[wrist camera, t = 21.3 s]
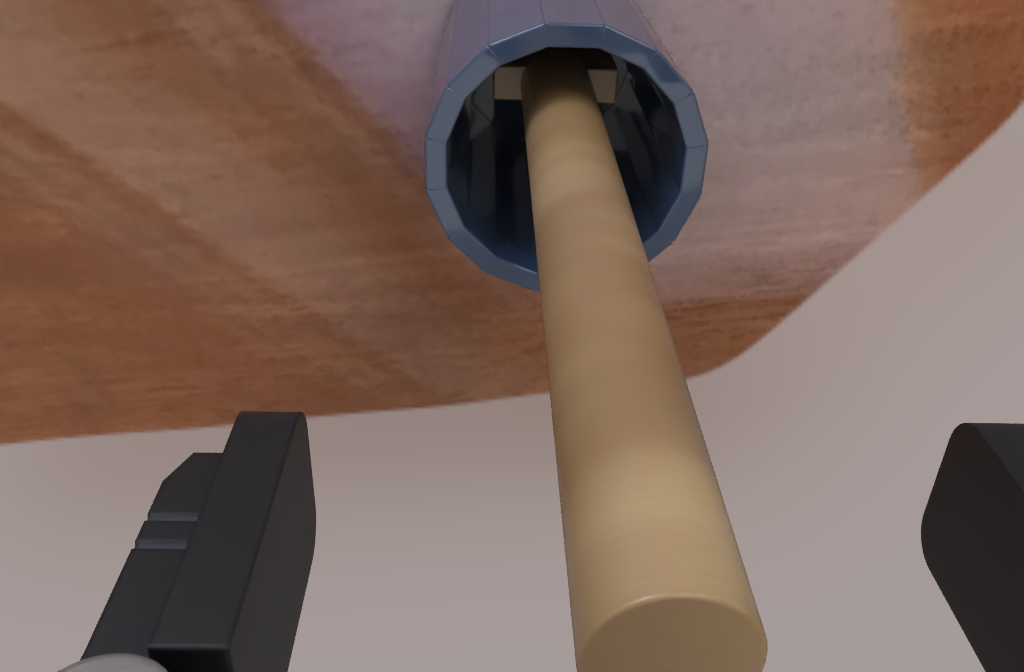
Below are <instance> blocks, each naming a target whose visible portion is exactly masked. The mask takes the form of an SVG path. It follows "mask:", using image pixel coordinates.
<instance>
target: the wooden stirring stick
mask: <svg viewBox="0 0 1024 672" xmlns="http://www.w3.org/2000/svg"><path fill="white" fill-rule="evenodd" d="M617 81H618V68H617V66H616V64H615V61H614V59H613V56H612V55H611V54H609V53H607V52H605V51H602V50H600V49H597V48H560V47H547V48H545V49H542V50H540V51H537V52H535V53H532V54H529V55H527V56H524V57H522V58H519V59H516V60H514V61H511V62H509V63H506V64H503V65H501V66H500V67H499V68H498V69H497V70H496V71H495V72H494V73H493V99H495V100H522V108H523V119H524V129H525V139H526V150H527V160H528V171H529V181H530V191H531V202H532V212H533V222H534V233H535V243H536V254H537V264H538V274H539V285H540V295H541V305H542V316H543V326H544V337H545V347H546V357H547V368H548V378H549V388H550V399H551V408H552V418H553V419H552V420H553V430H554V439H555V451H556V461H557V470H558V482H559V491H560V503H561V513H562V523H563V533H564V544H565V554H566V564H567V575H568V584H569V585H568V586H569V596H570V606H571V617H572V627H573V637H574V648H575V658H576V667H577V672H762V670H763V667H764V665H765V662H766V656H767V639H766V634H765V631H764V628H763V625H762V621H761V618H760V615H759V612H758V609H757V606H756V603H755V599H754V596H753V593H752V590H751V587H750V584H749V580H748V577H747V574H746V571H745V567H744V564H743V561H742V558H741V555H740V552H739V548H738V546H737V542H736V539H735V536H734V533H733V530H732V526H731V523H730V520H729V517H728V514H727V510H726V507H725V504H724V501H723V498H722V495H721V491H720V488H719V485H718V482H717V479H716V475H715V472H714V469H713V466H712V463H711V460H710V456H709V454H708V450H707V447H706V444H705V441H704V438H703V434H702V431H701V428H700V425H699V422H698V418H697V415H696V412H695V409H694V406H693V402H692V399H691V396H690V393H689V390H688V387H687V383H686V380H685V377H684V374H683V371H682V367H681V364H680V361H679V358H678V355H677V352H676V348H675V345H674V342H673V339H672V336H671V333H670V329H669V326H668V323H667V320H666V317H665V314H664V310H663V307H662V304H661V301H660V298H659V294H658V291H657V288H656V285H655V282H654V279H653V275H652V272H651V269H650V266H649V263H648V260H647V256H646V253H645V250H644V247H643V244H642V240H641V237H640V234H639V231H638V228H637V225H636V221H635V218H634V215H633V212H632V209H631V206H630V202H629V199H628V196H627V193H626V190H625V187H624V183H623V180H622V177H621V174H620V171H619V167H618V164H617V161H616V158H615V155H614V152H613V148H612V145H611V142H610V139H609V136H608V133H607V129H606V126H605V123H604V120H603V117H602V113H601V110H600V107H599V104H598V103H615V101H616V91H617Z"/></svg>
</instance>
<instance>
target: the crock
mask: <svg viewBox="0 0 1024 672" xmlns="http://www.w3.org/2000/svg"><path fill="white" fill-rule="evenodd" d="M547 47H560V48H597V49H600V50H602V51H605V52H607V53H609V54H611V55H612V56H613V59H614V61H615V64H616V66H617V68H618V81H617V91H616V101H615V103H598V104H599V107H600V110H601V113H602V117H603V120H604V123H605V126H606V129H607V133H608V136H609V139H610V142H611V145H612V148H613V152H614V155H615V158H616V161H617V164H618V167H619V171H620V174H621V177H622V180H623V183H624V187H625V190H626V193H627V196H628V199H629V202H630V206H631V209H632V212H633V215H634V218H635V221H636V225H637V228H638V231H639V234H640V237H641V240H642V244H643V247H644V250H645V253H646V256H647V260H648V262H649V261H651V260H652V259H653V258H654V257H656V256H657V255H658V254H660V253H661V252H662V251H663V250H665V249H666V248H667V247H668V246H670V245H671V244H672V243H673V241H675V239H676V238H677V236H678V234H679V233H680V231H681V229H682V227H683V226H684V224H685V222H686V221H687V219H688V217H689V216H690V214H691V212H692V211H693V209H694V207H695V206H696V204H697V202H698V201H699V199H700V196H701V193H702V186H703V179H704V173H705V166H706V159H707V152H708V139H707V136H706V132H705V129H704V125H703V121H702V118H701V114H700V111H699V107H698V103H697V100H696V96H695V93H694V92H693V90H692V88H691V87H690V85H689V83H688V82H687V80H686V79H685V77H684V76H683V74H682V73H681V71H680V69H679V68H678V66H677V65H676V63H675V62H674V60H673V58H672V57H671V55H670V54H669V52H668V51H667V49H666V48H665V46H664V44H663V43H662V41H661V40H660V38H659V37H658V35H657V34H656V32H655V30H654V29H653V27H652V26H651V24H650V23H649V21H648V20H647V18H646V16H645V15H644V13H643V12H642V10H641V9H640V7H639V5H638V4H637V2H636V1H635V0H455V2H454V4H453V6H452V8H451V11H450V14H449V17H448V20H447V23H446V26H445V28H444V30H443V34H442V40H441V46H440V52H439V58H438V63H437V69H436V75H435V81H434V87H433V92H432V98H431V104H430V110H429V116H428V122H427V127H426V133H425V139H424V147H425V189H426V193H427V195H428V198H429V200H430V202H431V204H432V206H433V209H434V211H435V213H436V215H437V217H438V220H439V222H440V224H441V226H442V228H443V230H444V233H445V235H446V236H447V237H448V239H449V240H450V241H451V242H452V243H453V244H454V245H456V246H457V247H458V248H459V249H460V250H461V251H462V252H463V253H464V254H465V255H466V256H467V257H468V258H470V259H471V260H472V261H473V262H474V263H475V264H476V265H477V266H478V267H479V268H480V269H481V270H483V271H485V272H486V273H488V274H490V275H493V276H496V277H498V278H501V279H503V280H506V281H508V282H511V283H514V284H516V285H519V286H521V287H524V288H526V289H529V290H531V289H532V290H534V291H540V285H539V274H538V264H537V254H536V243H535V233H534V222H533V212H532V202H531V191H530V181H529V171H528V160H527V150H526V139H525V129H524V119H523V108H522V100H495V99H493V73H494V72H495V71H496V70H497V69H498V68H499V67H500V66H501V65H503V64H506V63H509V62H511V61H514V60H516V59H519V58H522V57H524V56H527V55H529V54H532V53H535V52H537V51H540V50H542V49H545V48H547Z"/></svg>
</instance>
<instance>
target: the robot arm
mask: <svg viewBox="0 0 1024 672" xmlns="http://www.w3.org/2000/svg"><path fill="white" fill-rule="evenodd" d="M315 535H316V509H315V498H314V489H313V479H312V468H311V459H310V449H309V439H308V429H307V422H306V418H305V415H304V413H303V412H255V411H242V412H240V413H239V415H238V416H237V418H236V421H235V423H234V426H233V428H232V431H231V433H230V436H229V438H228V441H227V444H226V446H225V449H224V452H223V453H193V454H192V455H191V456H190V457H189V458H188V459H186V460H185V461H184V462H183V463H182V464H181V465H180V466H179V467H178V468H177V469H175V470H174V471H173V472H172V473H171V474H170V475H169V476H168V477H167V478H166V479H165V480H164V481H163V482H162V484H161V486H160V489H159V491H158V493H157V495H156V497H155V499H154V502H153V504H152V506H151V508H150V510H149V512H148V520H147V521H144V523H143V526H142V528H141V530H140V532H139V534H138V537H137V539H136V541H135V548H134V549H131V552H130V554H129V556H128V558H127V561H126V563H125V565H124V567H123V569H122V571H121V573H120V576H119V578H118V580H117V582H116V584H115V587H114V589H113V591H112V593H111V595H110V597H109V600H108V602H107V604H106V606H105V608H104V611H103V613H102V615H101V617H100V619H99V621H98V624H97V626H96V628H95V630H94V632H93V634H92V637H91V639H90V641H89V643H88V646H87V648H86V650H85V652H84V654H83V656H82V657H81V659H80V661H79V662H76V663H74V664H71V665H69V666H67V667H65V668H64V669H62V670H60V671H58V672H287V671H288V667H289V662H290V658H291V653H292V649H293V644H294V640H295V636H296V631H297V626H298V622H299V618H300V613H301V609H302V604H303V600H304V596H305V590H306V587H307V582H308V578H309V573H310V569H311V564H312V559H313V554H314V546H315ZM921 541H922V549H923V553H924V557H925V560H926V563H927V565H928V567H929V570H930V571H931V573H932V575H933V577H934V578H935V580H936V582H937V584H938V586H939V588H940V590H941V591H942V593H943V595H944V597H945V599H946V600H947V602H948V604H949V606H950V608H951V610H952V611H953V613H954V615H955V617H956V619H957V620H958V622H959V624H960V626H961V628H962V630H963V631H964V633H965V635H966V637H967V639H968V640H969V642H970V644H971V646H972V648H973V650H974V651H975V653H976V655H977V657H978V659H979V660H980V662H981V664H982V666H983V668H984V670H985V671H986V672H1024V424H1004V423H963V424H960V425H959V426H957V428H955V430H954V431H953V433H952V435H951V437H950V439H949V442H948V445H947V448H946V451H945V454H944V457H943V460H942V463H941V465H940V468H939V471H938V474H937V477H936V480H935V483H934V486H933V489H932V491H931V494H930V497H929V500H928V503H927V506H926V509H925V512H924V515H923V520H922V525H921Z"/></svg>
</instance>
